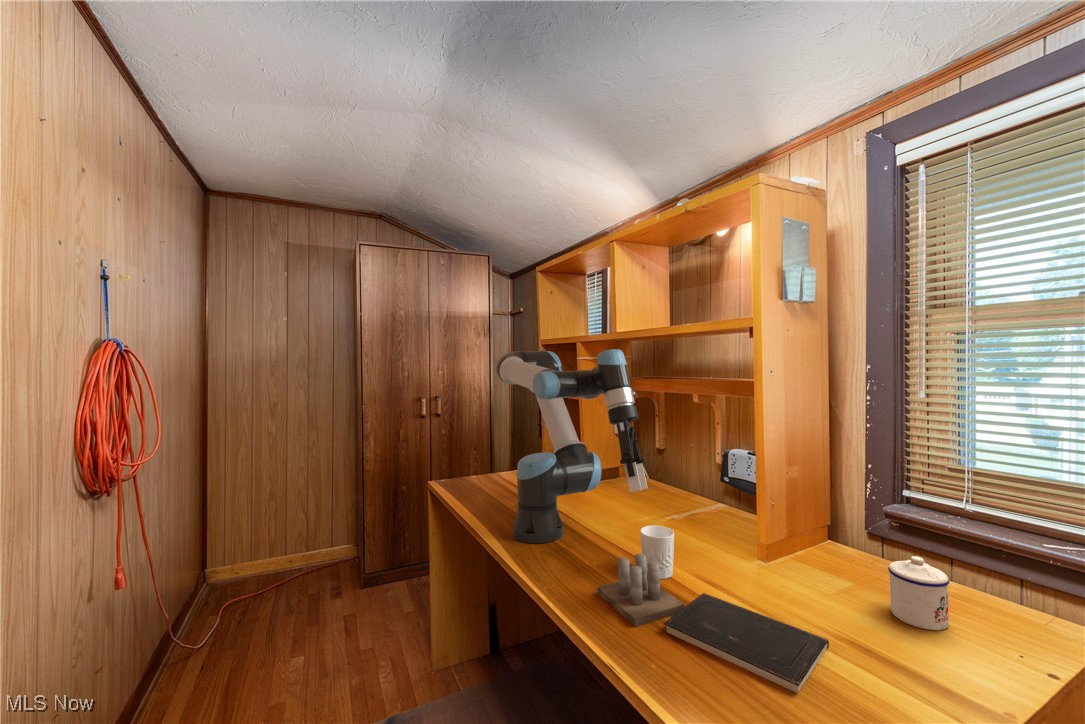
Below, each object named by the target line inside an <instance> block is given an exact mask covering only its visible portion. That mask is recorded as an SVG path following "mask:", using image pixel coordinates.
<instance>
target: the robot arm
mask: <svg viewBox="0 0 1085 724" xmlns="http://www.w3.org/2000/svg"><path fill="white" fill-rule="evenodd" d="M495 372H496V373H495V374H496V376H497V377H498V379H499V380H501V381H502V382H503V383H505V384H508V385H518V386H521V387H523V388H526V389H528V390H529V391H530V392H532V393H534V394H535V397H536V400H537V403H538V406H539V408H540V409H539V410H540V412H541V414H542V415H541V416H542V417H543V421H544V423H545V428H546V430H547V432H548V435H549V439H550V441H551V444H552V446H553V453H552V452H545V451H544V452H536V453H532V454H528V455H525V456H523V457H522V458H521V459H519V461H518V463H517V468H516V469H517V470H516V472H517V473H516V477H517V478H516V479H517V481H516V482H517V512H516V516H515V517H514V518H515V519H514V522H513V526H512V536H513V538H514V539H515V540H516V541H520V542H523V543H526V544H527V543H528V544H546V543H551V542H554V541H557V540H559V539H561V538H562V537H563V536H564V524H563V521H562V518H561V516H560V513H559V510H558V505H557V504H558V497H561V496H566V495H572V494H579V493H586V492H588V491H593V490H594V489H596V488H597V487H598V486H599V484H600V482H601V479H602V463H601V460H600V457H599V456H598V454H597V453H596V452H594V451H589V450H588V448H587V444H585V443H584V442H582V441H580V440H579V438H578V435H577V431H576V430H575V427H574V424H573V421H572V419H571V416H570V413H569V410H568V407H567V406H566V404H565V400H564V399H565V398H568V399H569V398H582V399H584V400H591V399H597V398H598V397H600V396H601V395H602V394H603V397H604V401H605V402H604V403H605V407H606V409H607V417H608V420H609V423H610V425H612V426H613V425H616V429H617V435H618V442H619V449H620V450H619V451H620V456H621V457H620V459H619V463H620V465H623V467H624V471H625V476H626V480H627V485H628V486H627V487H628V489H629V493H633V492H641V491H642V490H646V489H648V484H647V480H646V475H645V471H644V466H643V464H644V463H645V462H646V461H645V459H644V458H642V455H641V451H640V447H639V443H638V439H637V436H636V429H635V427H634V426H632V424H631V422H635V421H637V420H638V419H639V414H638V410H637V406H636V405H635V403H636V401H635V398H634V396H636V392H635V391H633V388H632V387H633V386H632V382H631V378H630V374H629V368H628V362H627V361H626V357H625V354H624V352H623V351H622V350H621V349H619V348H617V349H616V348H614V349H613V348H612V349H606V350H603V351H601V352H599V353H598V354H597V356H596V366H595V367H592V369H583V370H580V369H578V370H577V369H576V370H563V369H562V363H561V359H560V358H559V356H558V355H557V354H556V353H555V352H554V351H550V350H538V351H537V350H536V351H535V350H534V351H533V350H530V351H527V350H526V351H525V350H524V351H523V350H521V351H519V350H516V351H510V352H507V353H505V354H503V355H502V356H501V357H499V359H498V361H497V362H496V365H495Z"/></svg>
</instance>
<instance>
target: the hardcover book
mask: <svg viewBox="0 0 1085 724" xmlns="http://www.w3.org/2000/svg"><path fill="white" fill-rule="evenodd" d="M663 625H665V626H666V633H668V634H670V635H672V636H675V637H677V638H678V639H681V640H683V641H685V642H687V643H689V644H691V645H694V646H696V647H698V648H700V649H703V650H704V651H706V652H708V653H711V654H713V655H715V656H717V657H719V658H720V659H721V658H722V659H723V660H726V661H728V662H729V663H731V664H732V663H733V664H734V665H736V666H738V667H740V668H743V669H744V670H747V671H749V672H750V673H751V672H752V673H754V674H756V675H757V676H760V677H762V678H764V679H766V680H768V681H770V682H773V683H774V684H776V685H779V686H780V687H783V688H785V689H787V690H790V691H792V692H793V693H796V694H799V692H800V690H802V688H803V686H804V684H805V683H806V682H807V680H808V678H809V677H810V676H811V674H812V672H813V671H814V669H815V667H817V665H818V663H819V662H820V660H821V658H822V657H823V655H824V654H825V652H826V651H827V649H829V648H830V646H829V645H830V644H829V643H830V642H829V639H827V638H825V637H823V636H819V635H817V634H814V633H812V632H809V631H807V630H804V629H801V628H798V627H796V626H793V625H791V624H788V623H785V622H783V621H780V620H777V619H775V618H772V617H770V616H766V615H763V614H761V613H759V612H756V611H752V610H751V609H747V608H745V607H742V606H739V605H736V604H735V603H732V602H729V601H727V600H724V599H721V598H718V597H715V596H713V595H710V594H707V593H704V592H703V593H701V594H700V595H698V596H696V598H695V599H693V600H691V602H689V603H688V604H687V605H685V606H684V608H683V609H682V610H680V611H679V612H678V613H676V614H675V615H672V616H670V618H668V619H667V620H666V621H665V622H664V623H663Z"/></svg>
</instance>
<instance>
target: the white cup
mask: <svg viewBox="0 0 1085 724" xmlns="http://www.w3.org/2000/svg"><path fill="white" fill-rule="evenodd" d="M639 532H640V542H641V554H644V555H646V565H647V563H648V562H657V563H659V575H660V580H667V579H669V578H671V577H672V576H673V575H674V574H673V571H674V560H675V559H674V557H675V556H674V555H675V554H674V552H675V531H674V530H673V528H672V529H671V528H669V527H668V526H663V525H655V524H653V525H646V526H643V527H642V528H641V529H640V531H639ZM647 577H648V566H647Z"/></svg>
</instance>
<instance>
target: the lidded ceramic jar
mask: <svg viewBox="0 0 1085 724" xmlns="http://www.w3.org/2000/svg"><path fill="white" fill-rule="evenodd" d="M887 570H888V573H889V591H890V592H889V593H890V596H889V597H890V601H889V602H890V611H891V613H892V615H894V616H895V618H897V619H899V620H900V621H901V622H904V623H905V624H907V625H910V626H913V627H916V628H919V629H924V630H928V631H942V630H946V629H947V628H949V623H950V622H949V621H950V618H949V617H950V616H949V615H950V614H949V588H948V587H949V586H948V585H949V584H950V579H949V577H948V576H947V574H946V573H945V572H943V571H942V570H940V569H938V568H936V567H933V566H931V565H930V564H928V563H926V562H925V560H924V558H922V557H920V556H913V555H912V556H911V557H910V559H907V560H897V561H893V562H891V563H890V564H888V569H887Z"/></svg>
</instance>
